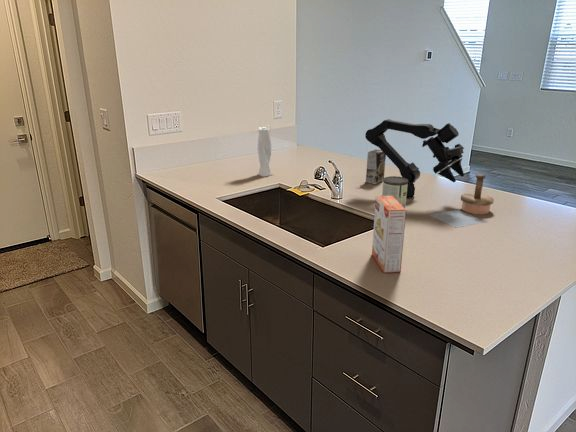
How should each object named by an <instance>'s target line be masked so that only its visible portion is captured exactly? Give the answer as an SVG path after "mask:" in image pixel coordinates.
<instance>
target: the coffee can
mask: <svg viewBox="0 0 576 432" xmlns="http://www.w3.org/2000/svg"><path fill="white" fill-rule="evenodd" d="M407 186H408V179H406V178H403V177H402V176H395V175H393V176H384V178H383V181H382V194H381V196H393V197H394V198H395V199H396V200H397V201H398V202H399V203H400V204H401V205H402V206H403V207H404V208H405V209H406V206H407V198H406V196H407Z"/></svg>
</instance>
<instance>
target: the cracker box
mask: <svg viewBox="0 0 576 432" xmlns="http://www.w3.org/2000/svg"><path fill="white" fill-rule="evenodd" d="M373 220H374V221H373V233H372V237H373V238H372V246H371V247H372V249H371V250H372V251H371V254H372V256H373V258H374V259H375V261H376V262H377V264H378V266H379V268H380V269H381V271H382V272H383V274H385V273H388V274H389V273H390V274H391V273H401V271H402V261H403V253H404V252H403V250H404V241H405V230H406V221H407V210H406V207H405V208H404V207H403V206H402V205H401V204H400V203H399V202H398V201H397V200H396V199H395V198H394V197H393V196H382V195H377V196H375V202H374V219H373Z"/></svg>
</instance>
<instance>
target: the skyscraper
mask: <svg viewBox="0 0 576 432" xmlns="http://www.w3.org/2000/svg"><path fill="white" fill-rule="evenodd" d="M270 131H271V126H270V124H267V126H262V127H261V126H259V127H258V129H257V132H258V138H257V155H258V162H259V170H258V173H257V174H256V175H258V176H260V177H262V178H267V177H272V176H274V174H273V173H272V172H271V169H270V162H271V157H272V156H271V155H272V141H271V136H270Z"/></svg>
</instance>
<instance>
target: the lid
mask: <svg viewBox="0 0 576 432" xmlns="http://www.w3.org/2000/svg"><path fill="white" fill-rule="evenodd" d="M475 178H476V182H475V188H474V193H473V192H469V193H468V192H467V193H464V194H461V196H460V201H461V202H462V203H463V202H465V203H468V204H472V205H481V206H485V205H490V206H491V205H493V204H494V202H495V201H494V200H495V199H494V198H493V197H492V196H489V195H486V194H482V191H483V185H484V179H485V178H486V175H485V174H481V173H477V174H475Z"/></svg>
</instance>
